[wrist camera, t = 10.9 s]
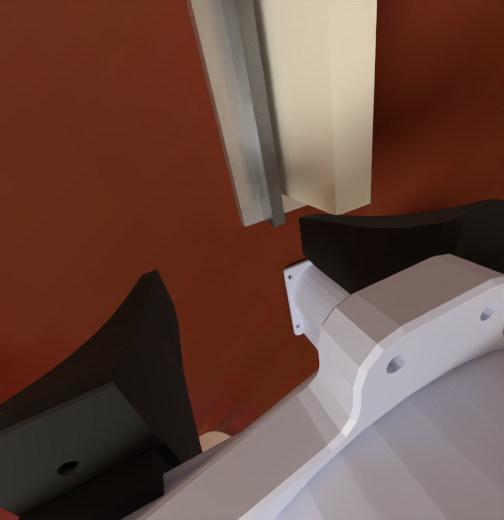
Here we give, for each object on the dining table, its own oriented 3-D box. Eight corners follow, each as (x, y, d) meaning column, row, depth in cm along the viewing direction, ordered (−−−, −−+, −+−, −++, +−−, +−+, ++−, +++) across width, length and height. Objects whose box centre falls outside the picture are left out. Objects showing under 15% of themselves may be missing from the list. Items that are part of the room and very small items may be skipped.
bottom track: (337, 189, 24) (360, 195, 21) (241, 223, 21) (253, 234, 19) (329, -59, 16) (364, -97, 13) (174, -47, 14) (181, -89, 11)
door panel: (307, 185, 21) (370, 203, 15) (282, 194, 21) (336, 215, 15) (289, -9, 15) (380, -103, 9) (252, -4, 15) (323, -101, 9)
